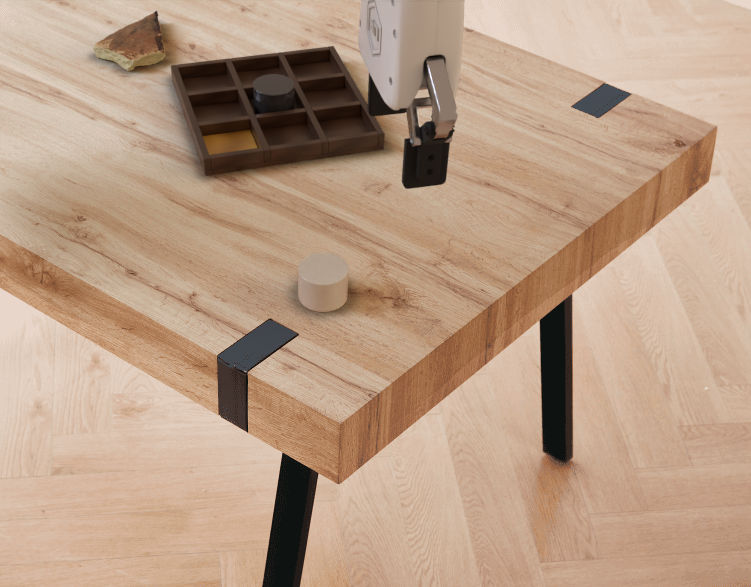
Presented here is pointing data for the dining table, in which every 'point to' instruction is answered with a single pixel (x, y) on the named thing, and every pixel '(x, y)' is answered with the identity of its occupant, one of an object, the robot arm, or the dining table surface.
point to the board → (277, 129)
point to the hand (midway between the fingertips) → (404, 147)
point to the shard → (134, 44)
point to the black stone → (273, 94)
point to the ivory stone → (323, 281)
